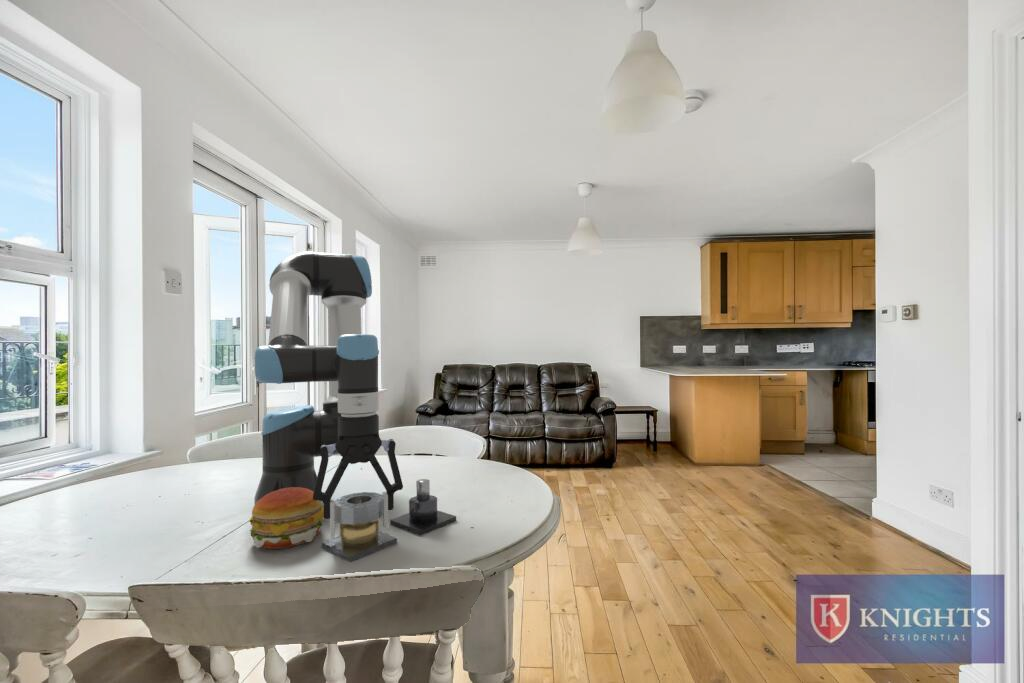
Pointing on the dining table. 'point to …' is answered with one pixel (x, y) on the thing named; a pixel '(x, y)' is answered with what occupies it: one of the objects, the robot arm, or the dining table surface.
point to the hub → (358, 541)
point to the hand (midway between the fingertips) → (359, 530)
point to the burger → (286, 518)
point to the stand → (423, 512)
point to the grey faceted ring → (358, 508)
